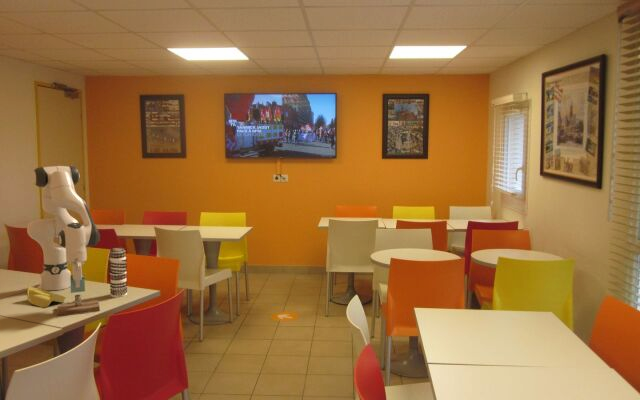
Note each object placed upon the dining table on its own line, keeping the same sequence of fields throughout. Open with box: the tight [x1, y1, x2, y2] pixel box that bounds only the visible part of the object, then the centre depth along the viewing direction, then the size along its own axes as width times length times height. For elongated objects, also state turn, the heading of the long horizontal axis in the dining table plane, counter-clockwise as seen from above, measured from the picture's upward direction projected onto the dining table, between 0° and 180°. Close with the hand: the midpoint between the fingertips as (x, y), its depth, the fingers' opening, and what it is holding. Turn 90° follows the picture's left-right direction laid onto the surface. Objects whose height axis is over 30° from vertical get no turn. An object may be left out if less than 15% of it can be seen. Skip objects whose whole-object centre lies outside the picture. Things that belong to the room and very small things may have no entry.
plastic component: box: [26, 286, 66, 309], centre depth 254 cm, size 20×7×10 cm
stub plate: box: [56, 294, 100, 317], centre depth 243 cm, size 13×18×7 cm
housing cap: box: [70, 273, 86, 294], centre depth 242 cm, size 6×6×7 cm
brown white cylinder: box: [108, 247, 128, 298], centre depth 267 cm, size 9×9×25 cm
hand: (77, 285), depth 242 cm, fingers closed on housing cap, 6 cm apart
